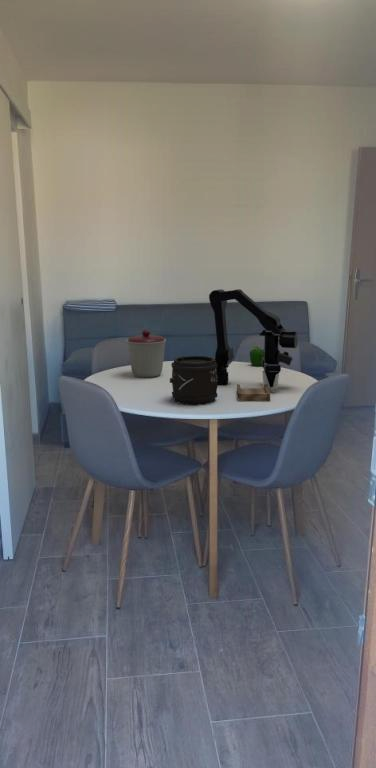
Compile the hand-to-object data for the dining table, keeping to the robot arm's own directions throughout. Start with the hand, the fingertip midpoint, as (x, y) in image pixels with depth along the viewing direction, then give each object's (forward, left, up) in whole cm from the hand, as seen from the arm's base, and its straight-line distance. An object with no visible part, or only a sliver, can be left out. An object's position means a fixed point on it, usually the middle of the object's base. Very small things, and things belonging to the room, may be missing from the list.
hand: (270, 384), depth 243 cm
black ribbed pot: (-31, -20, -2) cm, 37 cm away
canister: (-54, +24, -2) cm, 59 cm away
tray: (-8, -14, -2) cm, 16 cm away
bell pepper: (-2, +48, -2) cm, 48 cm away
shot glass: (0, 0, -2) cm, 2 cm away
